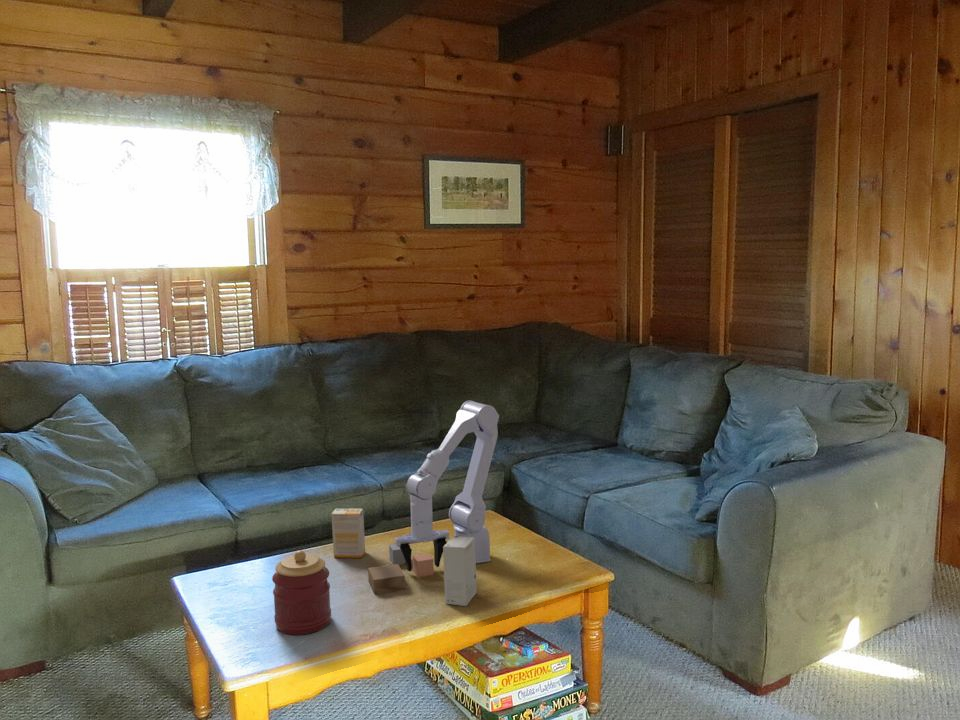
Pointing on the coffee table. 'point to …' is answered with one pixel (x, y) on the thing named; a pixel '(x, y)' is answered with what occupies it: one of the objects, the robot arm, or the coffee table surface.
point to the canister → (301, 594)
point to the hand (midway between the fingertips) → (423, 567)
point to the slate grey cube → (396, 555)
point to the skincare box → (459, 570)
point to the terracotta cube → (423, 565)
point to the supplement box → (348, 533)
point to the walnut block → (386, 578)
